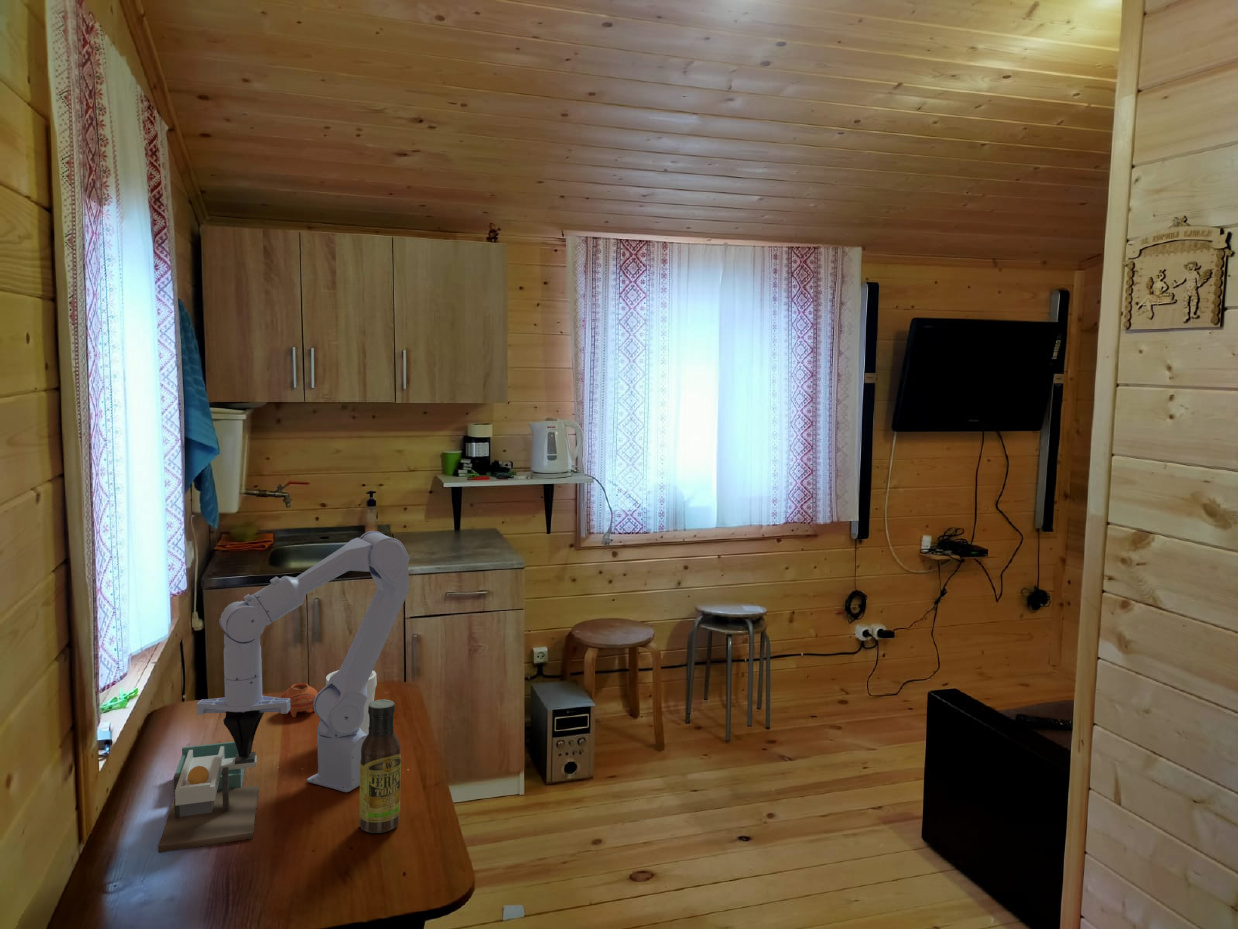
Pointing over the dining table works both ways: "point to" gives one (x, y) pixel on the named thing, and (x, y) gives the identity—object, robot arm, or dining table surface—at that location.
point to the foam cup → (370, 698)
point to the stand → (212, 819)
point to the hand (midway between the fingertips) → (245, 754)
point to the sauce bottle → (380, 771)
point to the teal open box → (213, 749)
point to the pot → (300, 697)
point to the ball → (198, 775)
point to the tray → (204, 794)
